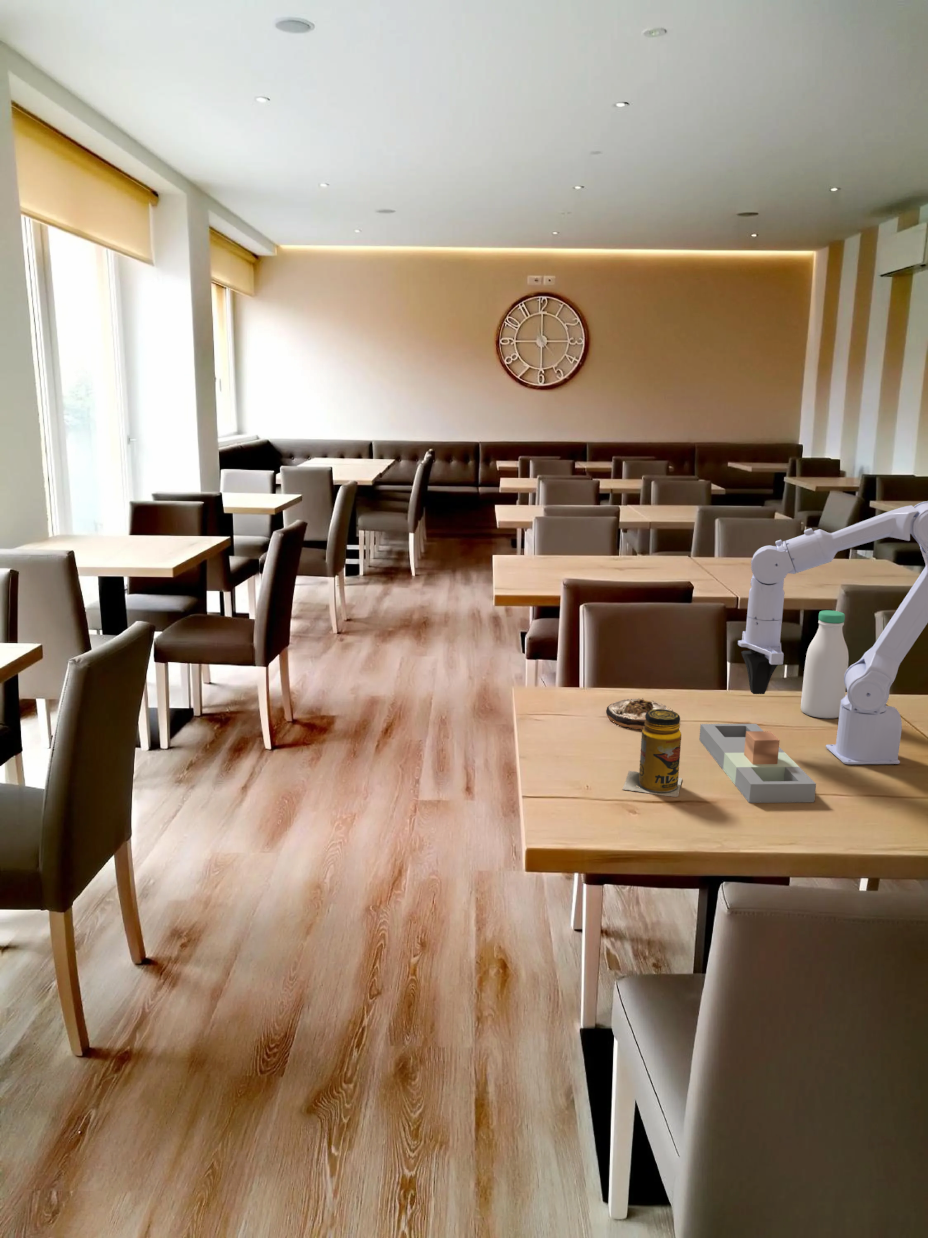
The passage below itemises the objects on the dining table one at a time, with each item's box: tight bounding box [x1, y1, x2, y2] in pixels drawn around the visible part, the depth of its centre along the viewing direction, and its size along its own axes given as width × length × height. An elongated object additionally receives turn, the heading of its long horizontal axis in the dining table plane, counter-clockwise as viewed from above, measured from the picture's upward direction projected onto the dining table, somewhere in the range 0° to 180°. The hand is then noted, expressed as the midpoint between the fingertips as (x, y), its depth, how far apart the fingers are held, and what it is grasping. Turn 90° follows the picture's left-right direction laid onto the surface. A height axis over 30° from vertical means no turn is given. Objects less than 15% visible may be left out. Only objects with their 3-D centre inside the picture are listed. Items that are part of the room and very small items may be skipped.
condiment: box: [622, 708, 683, 798], centre depth 146 cm, size 7×8×12 cm
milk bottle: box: [800, 609, 849, 720], centre depth 179 cm, size 8×8×20 cm
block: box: [744, 730, 780, 764], centre depth 150 cm, size 4×4×4 cm
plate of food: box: [605, 697, 675, 731], centre depth 176 cm, size 15×15×4 cm
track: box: [699, 723, 817, 804], centre depth 154 cm, size 10×26×3 cm, turn 3°
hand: (757, 693), depth 163 cm, fingers closed
